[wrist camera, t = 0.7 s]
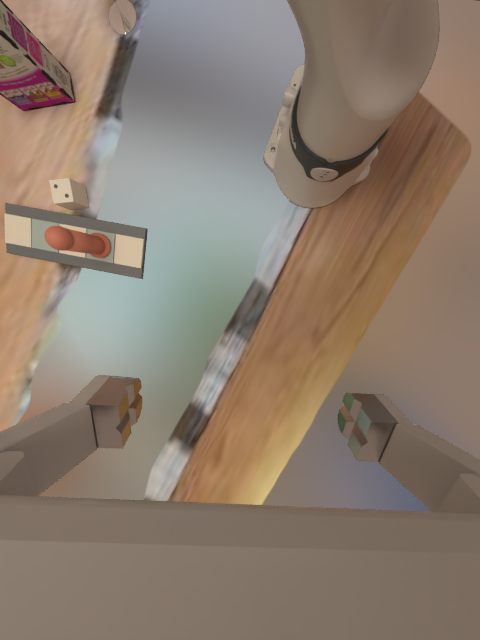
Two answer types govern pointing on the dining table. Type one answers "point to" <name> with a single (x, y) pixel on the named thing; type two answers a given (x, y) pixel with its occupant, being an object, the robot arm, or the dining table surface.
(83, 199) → the die
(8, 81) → the candy bar box
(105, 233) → the track board
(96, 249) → the pawn
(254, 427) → the dining table surface
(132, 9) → the wineglass
